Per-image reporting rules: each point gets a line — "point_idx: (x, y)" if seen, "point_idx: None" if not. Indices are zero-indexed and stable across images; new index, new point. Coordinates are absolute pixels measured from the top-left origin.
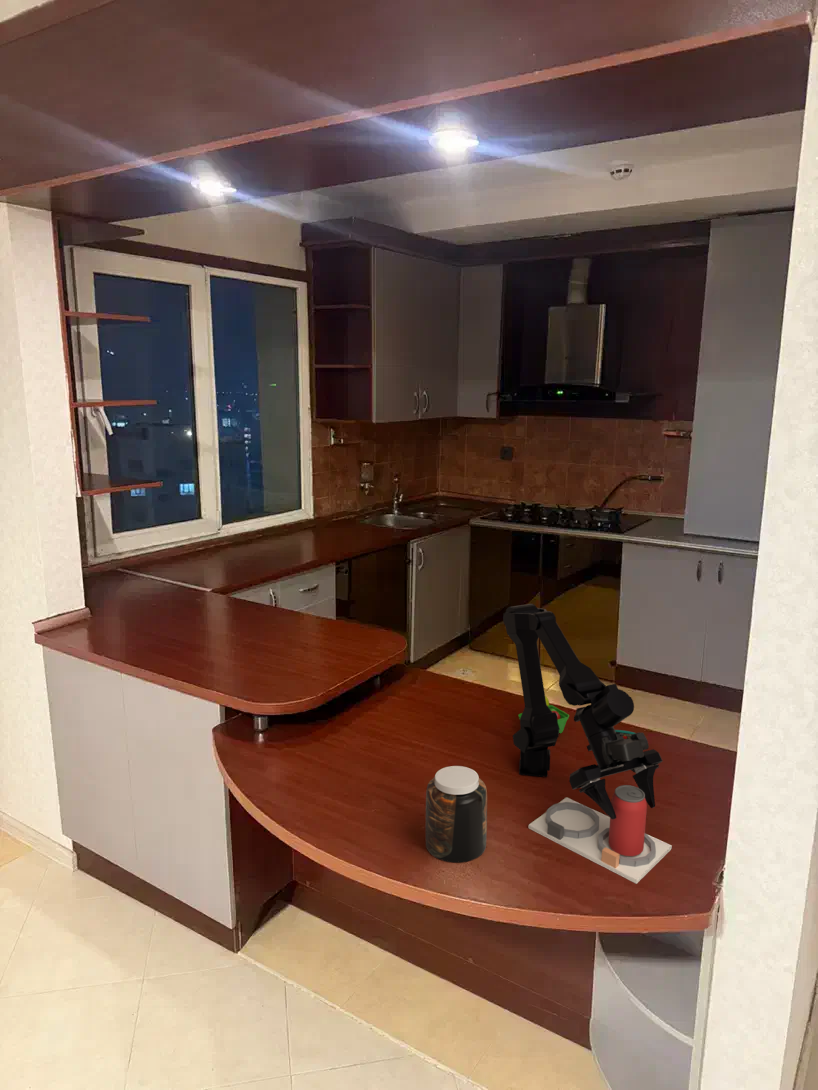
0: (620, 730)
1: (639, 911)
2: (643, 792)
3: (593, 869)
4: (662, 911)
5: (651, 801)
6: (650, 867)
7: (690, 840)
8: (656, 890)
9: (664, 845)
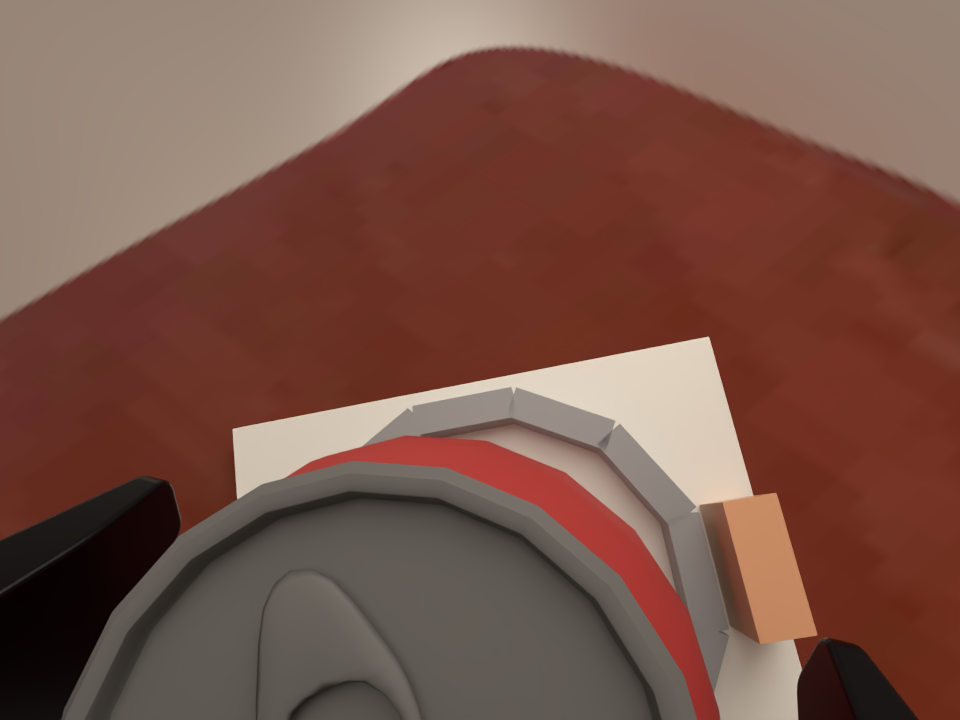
0: None
1: (873, 185)
2: (128, 607)
3: (855, 613)
4: (753, 125)
5: (118, 528)
6: (521, 375)
7: (84, 418)
8: (642, 245)
9: (267, 456)
